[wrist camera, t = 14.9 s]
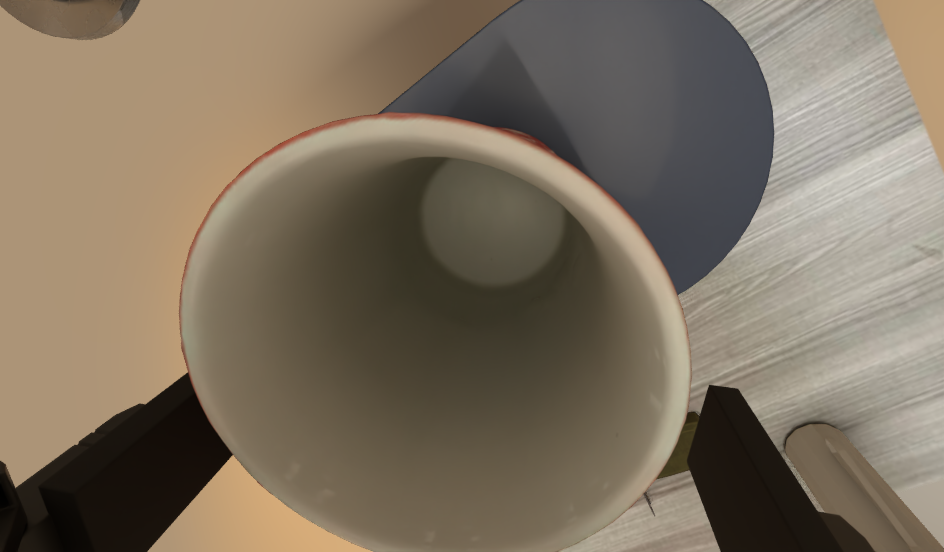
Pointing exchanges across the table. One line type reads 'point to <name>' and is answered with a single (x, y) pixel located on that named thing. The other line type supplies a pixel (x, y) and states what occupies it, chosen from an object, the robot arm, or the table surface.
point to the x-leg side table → (626, 111)
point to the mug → (435, 337)
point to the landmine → (680, 450)
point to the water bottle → (856, 490)
